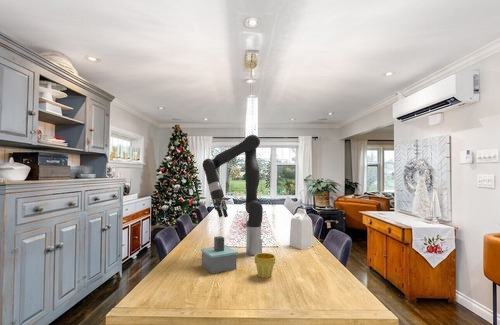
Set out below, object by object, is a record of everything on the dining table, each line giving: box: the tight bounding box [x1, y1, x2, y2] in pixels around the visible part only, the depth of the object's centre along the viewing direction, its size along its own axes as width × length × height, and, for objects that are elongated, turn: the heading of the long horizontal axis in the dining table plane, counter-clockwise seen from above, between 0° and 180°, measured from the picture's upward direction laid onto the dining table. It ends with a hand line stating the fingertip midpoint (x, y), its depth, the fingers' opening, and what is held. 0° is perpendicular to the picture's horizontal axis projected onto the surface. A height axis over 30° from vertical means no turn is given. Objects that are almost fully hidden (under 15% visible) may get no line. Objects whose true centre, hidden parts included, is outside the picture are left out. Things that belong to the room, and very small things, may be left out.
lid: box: [200, 235, 239, 258], centre depth 148 cm, size 15×15×9 cm
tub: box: [201, 251, 238, 275], centre depth 148 cm, size 14×14×8 cm
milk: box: [289, 208, 314, 250], centre depth 194 cm, size 12×12×26 cm
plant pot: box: [254, 252, 276, 279], centre depth 137 cm, size 10×10×10 cm
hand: (223, 216), depth 160 cm, fingers open, 8 cm apart
